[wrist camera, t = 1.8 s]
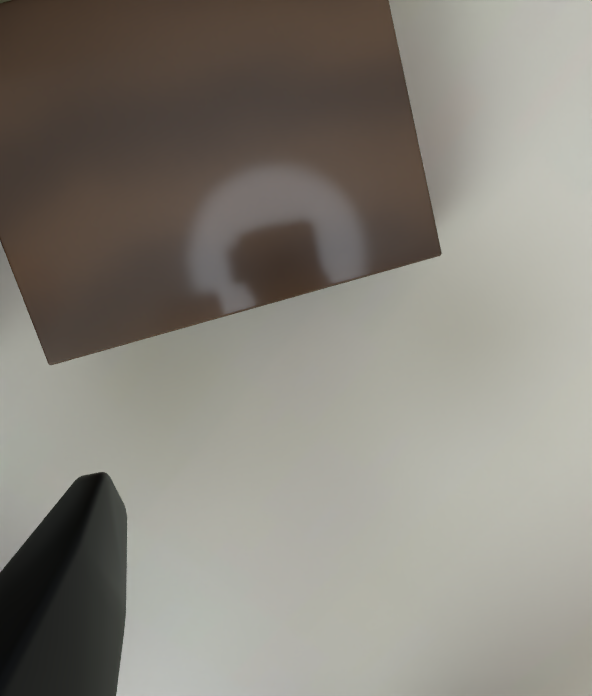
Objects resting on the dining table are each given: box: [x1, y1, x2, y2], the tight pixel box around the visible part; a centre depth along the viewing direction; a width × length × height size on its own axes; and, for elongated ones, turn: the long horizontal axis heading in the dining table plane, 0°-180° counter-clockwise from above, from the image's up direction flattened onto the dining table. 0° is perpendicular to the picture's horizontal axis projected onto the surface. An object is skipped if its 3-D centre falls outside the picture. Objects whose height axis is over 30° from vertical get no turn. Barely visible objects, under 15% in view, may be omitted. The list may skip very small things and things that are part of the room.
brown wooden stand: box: [0, 0, 441, 365], centre depth 16 cm, size 12×14×10 cm
